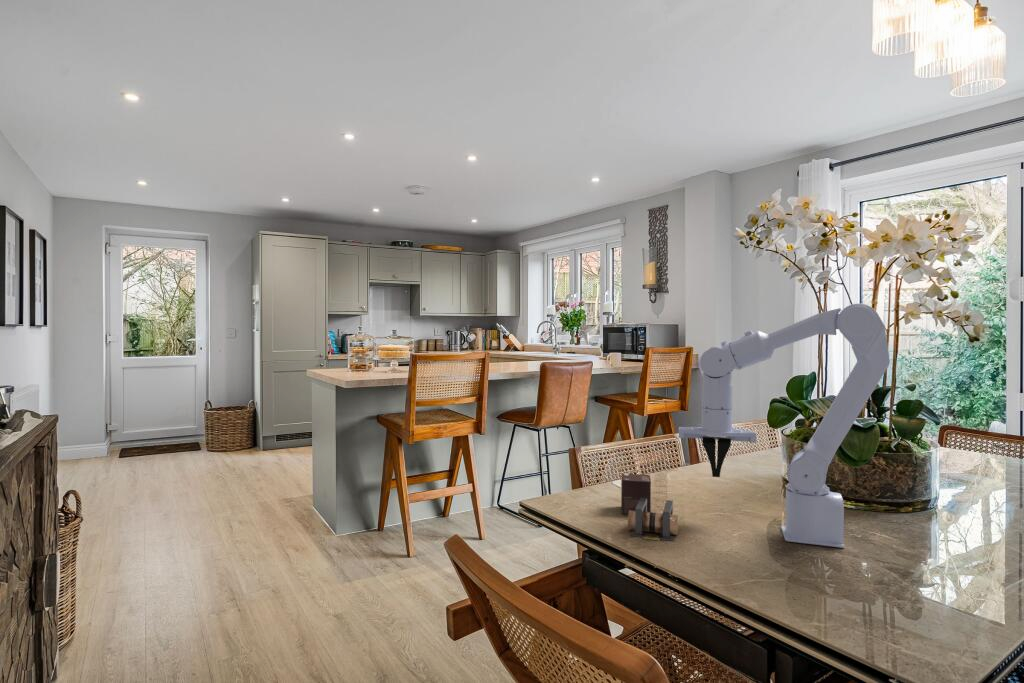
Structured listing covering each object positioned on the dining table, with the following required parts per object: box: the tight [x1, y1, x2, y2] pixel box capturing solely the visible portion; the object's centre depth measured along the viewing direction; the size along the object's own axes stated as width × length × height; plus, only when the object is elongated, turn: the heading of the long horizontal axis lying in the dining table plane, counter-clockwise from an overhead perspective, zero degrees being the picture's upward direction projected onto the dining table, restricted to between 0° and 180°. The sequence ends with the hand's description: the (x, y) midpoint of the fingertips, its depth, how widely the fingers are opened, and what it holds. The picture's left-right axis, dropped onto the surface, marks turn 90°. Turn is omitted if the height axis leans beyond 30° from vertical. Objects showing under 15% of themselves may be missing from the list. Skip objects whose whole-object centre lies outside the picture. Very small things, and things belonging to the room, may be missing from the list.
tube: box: [627, 510, 679, 536], centre depth 111 cm, size 9×4×4 cm, turn 71°
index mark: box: [642, 535, 661, 542], centre depth 107 cm, size 3×1×1 cm, turn 71°
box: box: [620, 473, 652, 516], centre depth 124 cm, size 6×6×7 cm
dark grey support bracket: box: [656, 499, 676, 542], centre depth 111 cm, size 3×9×5 cm, turn 160°
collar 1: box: [629, 498, 648, 538], centre depth 113 cm, size 3×9×5 cm, turn 161°
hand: (716, 475), depth 116 cm, fingers closed
